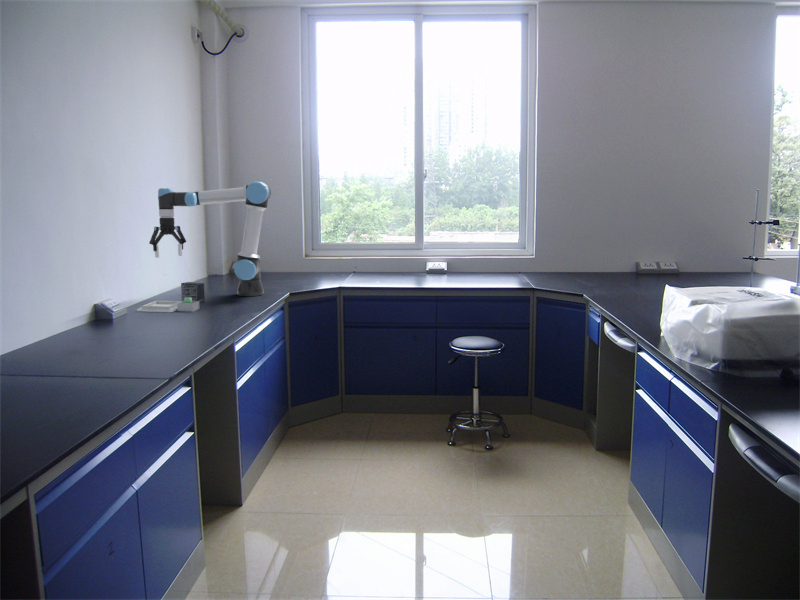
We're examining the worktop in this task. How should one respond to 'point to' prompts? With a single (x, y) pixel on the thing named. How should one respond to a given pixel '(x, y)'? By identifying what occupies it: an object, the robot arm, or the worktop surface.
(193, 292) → the small box
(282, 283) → the worktop surface
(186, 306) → the console
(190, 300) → the button
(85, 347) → the worktop surface
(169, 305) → the plate
